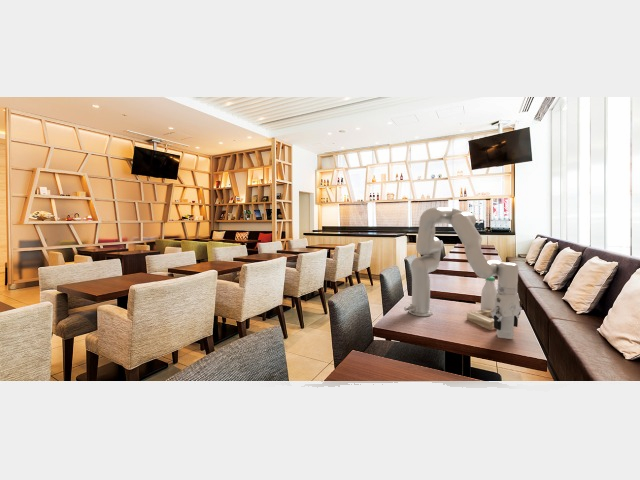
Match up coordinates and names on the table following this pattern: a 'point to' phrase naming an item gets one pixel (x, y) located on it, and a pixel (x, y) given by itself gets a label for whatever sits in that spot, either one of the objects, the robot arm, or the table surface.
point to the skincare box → (506, 327)
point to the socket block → (482, 318)
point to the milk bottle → (488, 294)
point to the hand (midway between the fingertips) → (505, 327)
